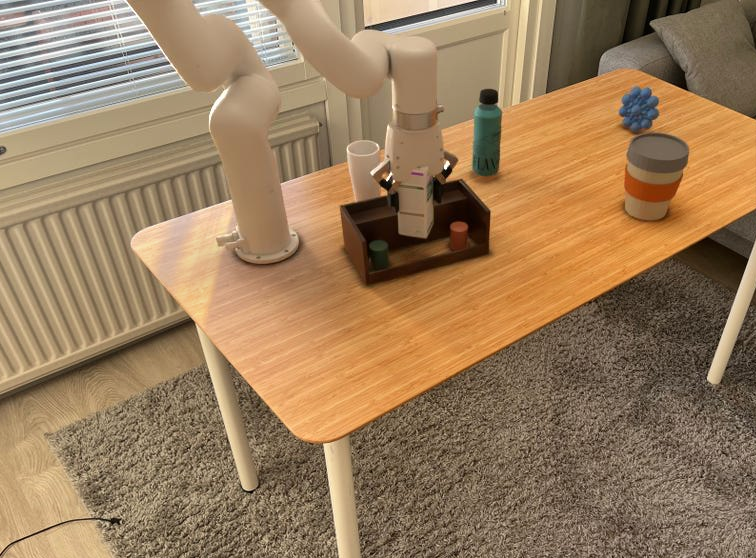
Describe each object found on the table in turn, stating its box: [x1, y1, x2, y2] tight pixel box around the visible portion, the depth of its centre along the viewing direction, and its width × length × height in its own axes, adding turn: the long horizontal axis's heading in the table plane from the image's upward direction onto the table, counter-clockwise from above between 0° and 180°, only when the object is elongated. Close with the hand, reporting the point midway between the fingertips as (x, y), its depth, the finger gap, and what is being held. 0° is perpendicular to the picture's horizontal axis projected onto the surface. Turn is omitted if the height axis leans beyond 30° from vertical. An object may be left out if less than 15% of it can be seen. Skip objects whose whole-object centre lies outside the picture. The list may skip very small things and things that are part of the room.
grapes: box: [618, 86, 660, 133], centre depth 178 cm, size 12×7×12 cm, turn 42°
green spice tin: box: [369, 240, 390, 272], centre depth 137 cm, size 4×4×5 cm
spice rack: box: [339, 178, 492, 286], centre depth 139 cm, size 26×13×10 cm, turn 115°
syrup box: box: [397, 166, 434, 238], centre depth 132 cm, size 6×6×14 cm
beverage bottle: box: [471, 88, 503, 177], centre depth 158 cm, size 6×7×20 cm
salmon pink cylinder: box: [449, 222, 469, 251], centre depth 143 cm, size 4×4×5 cm
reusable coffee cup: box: [623, 131, 690, 221], centre depth 150 cm, size 13×13×15 cm
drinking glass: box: [346, 139, 382, 202], centre depth 148 cm, size 7×7×15 cm
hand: (415, 204), depth 133 cm, fingers closed on syrup box, 8 cm apart
